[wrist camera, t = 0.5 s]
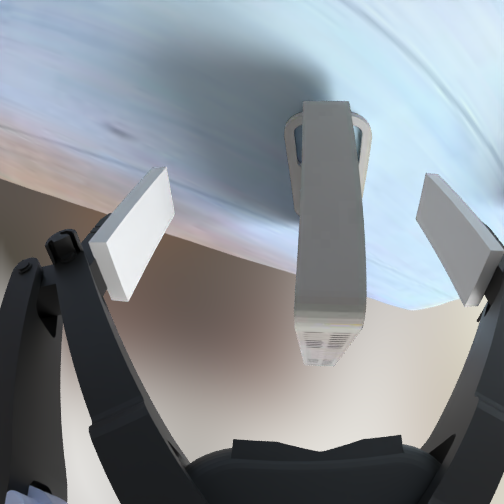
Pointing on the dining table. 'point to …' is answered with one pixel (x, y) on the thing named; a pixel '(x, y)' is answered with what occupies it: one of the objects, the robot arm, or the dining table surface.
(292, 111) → the dining table surface
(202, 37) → the dining table surface
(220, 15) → the dining table surface
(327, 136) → the network device
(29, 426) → the robot arm
